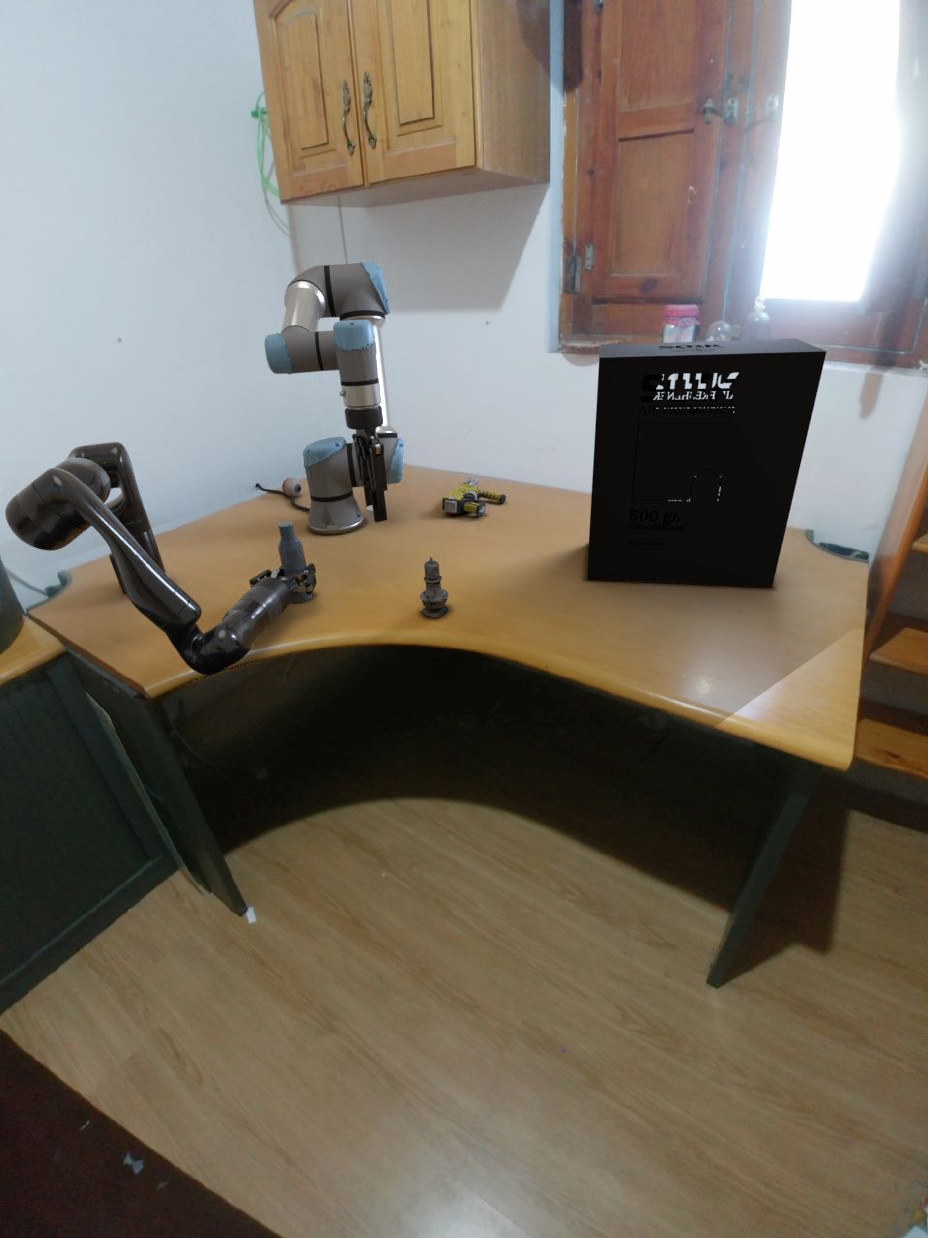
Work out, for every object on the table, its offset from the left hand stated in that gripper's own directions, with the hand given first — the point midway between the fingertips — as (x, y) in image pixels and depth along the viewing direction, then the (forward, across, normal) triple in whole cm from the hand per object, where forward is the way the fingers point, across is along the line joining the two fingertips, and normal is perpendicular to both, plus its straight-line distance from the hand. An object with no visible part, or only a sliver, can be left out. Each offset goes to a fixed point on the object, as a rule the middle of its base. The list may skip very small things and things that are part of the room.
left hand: (300, 566), depth 131 cm
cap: (+9, -16, -10) cm, 21 cm away
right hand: (+9, -16, -8) cm, 20 cm away
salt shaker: (-6, -31, +6) cm, 32 cm away
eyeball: (+63, +33, +6) cm, 71 cm away
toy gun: (+59, -29, +6) cm, 66 cm away
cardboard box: (+22, -80, +6) cm, 83 cm away
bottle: (-3, 0, +6) cm, 7 cm away
